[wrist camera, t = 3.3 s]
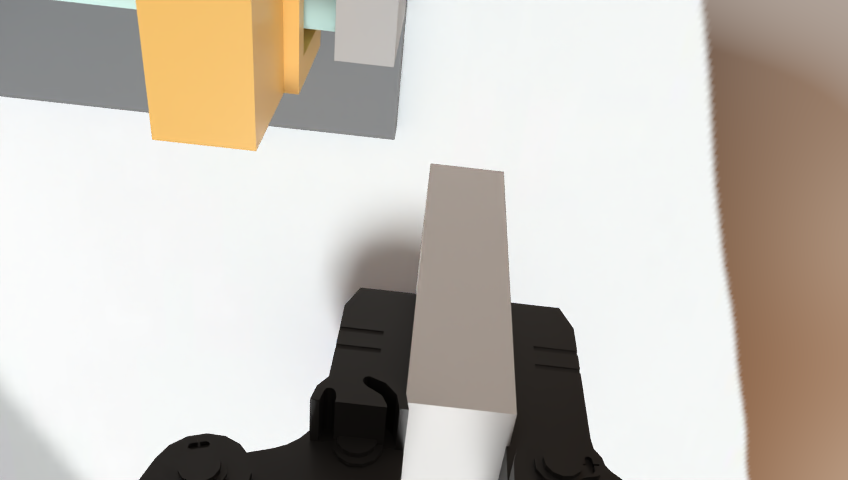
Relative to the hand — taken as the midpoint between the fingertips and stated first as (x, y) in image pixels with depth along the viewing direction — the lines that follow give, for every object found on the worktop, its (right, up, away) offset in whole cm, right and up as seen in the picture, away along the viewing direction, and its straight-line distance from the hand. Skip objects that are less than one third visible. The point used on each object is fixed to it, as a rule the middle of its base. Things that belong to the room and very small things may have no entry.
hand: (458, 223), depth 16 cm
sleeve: (-6, +9, +11) cm, 16 cm away
